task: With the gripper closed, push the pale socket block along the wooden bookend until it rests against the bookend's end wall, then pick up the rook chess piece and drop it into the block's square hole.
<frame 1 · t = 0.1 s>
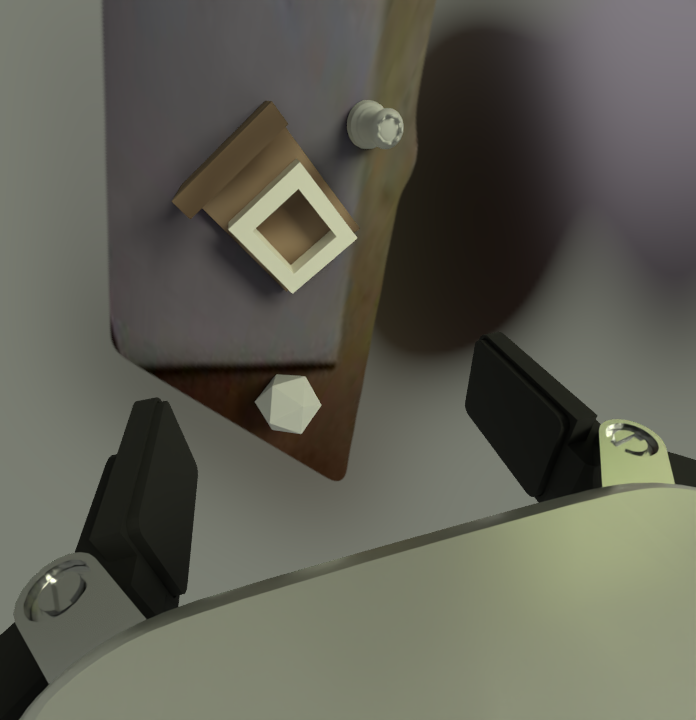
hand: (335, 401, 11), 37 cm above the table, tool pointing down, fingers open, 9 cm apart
rook chess piece: (365, 124, 41), on the table
socket block: (294, 230, 42), point 3 cm above the table, slide at 0.0 cm
die: (285, 386, 58), on the table
wooden bookend: (276, 207, 43), on the table
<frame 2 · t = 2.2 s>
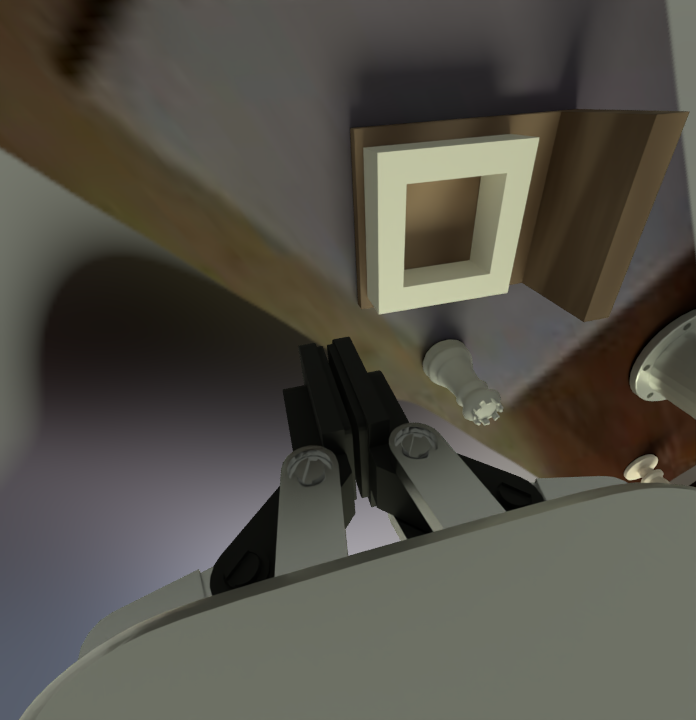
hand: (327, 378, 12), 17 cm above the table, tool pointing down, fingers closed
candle: (638, 465, 57), on the table
rook chess piece: (441, 355, 36), on the table
socket block: (442, 227, 25), point 3 cm above the table, slide at 0.0 cm
wooden bookend: (458, 214, 28), on the table
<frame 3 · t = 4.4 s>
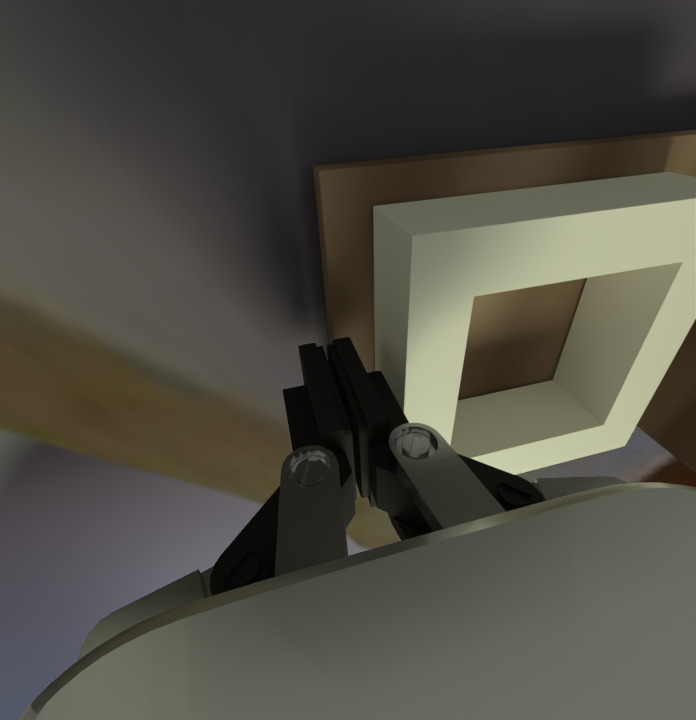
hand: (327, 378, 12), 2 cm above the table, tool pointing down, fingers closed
socket block: (524, 349, 13), point 3 cm above the table, slide at 0.9 cm, touching gripper
wooden bookend: (519, 310, 15), on the table
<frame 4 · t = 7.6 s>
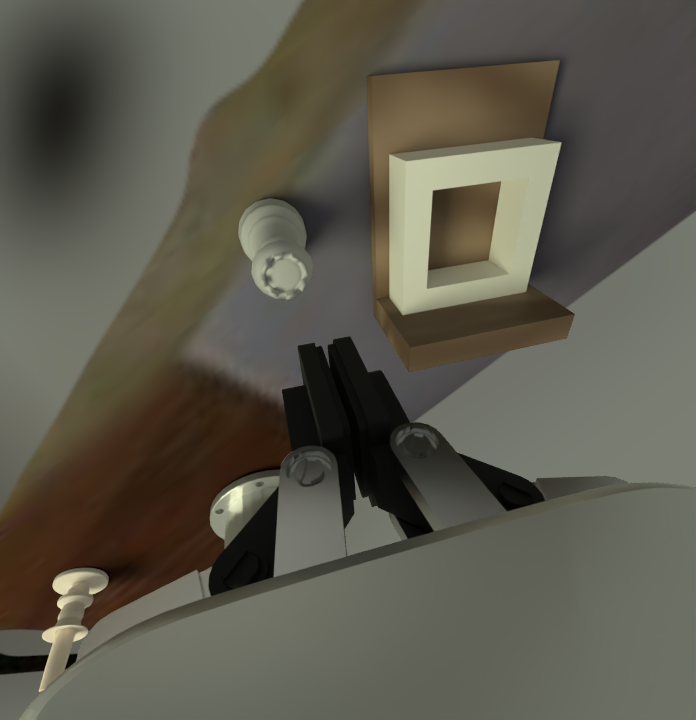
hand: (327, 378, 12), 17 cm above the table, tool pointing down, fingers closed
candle: (82, 577, 42), on the table
rook chess piece: (272, 230, 26), on the table
socket block: (464, 230, 26), point 3 cm above the table, slide at 3.5 cm, touching wooden bookend
wooden bookend: (449, 206, 27), on the table
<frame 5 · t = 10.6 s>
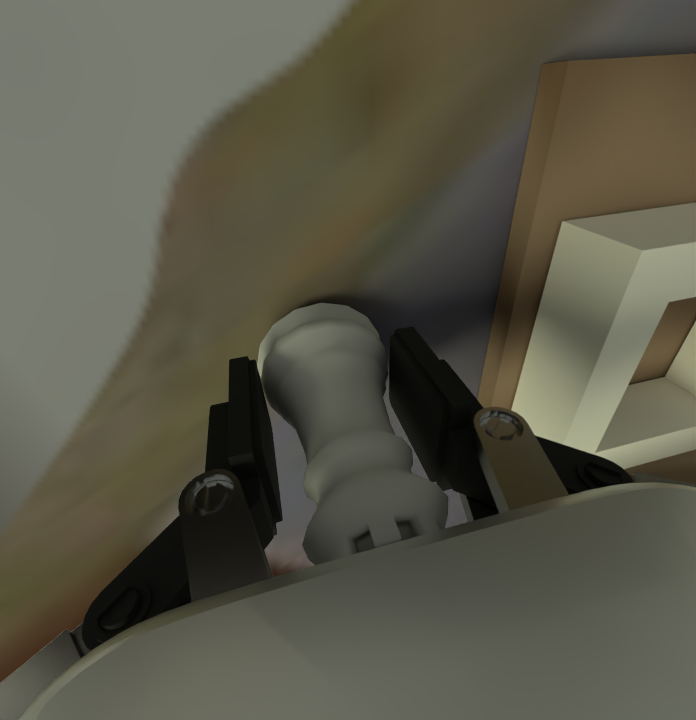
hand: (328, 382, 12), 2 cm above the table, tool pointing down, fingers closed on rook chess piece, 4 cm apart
rook chess piece: (318, 349, 14), on the table, touching gripper
socket block: (666, 348, 14), point 3 cm above the table, slide at 3.5 cm, touching wooden bookend
wooden bookend: (621, 297, 16), on the table
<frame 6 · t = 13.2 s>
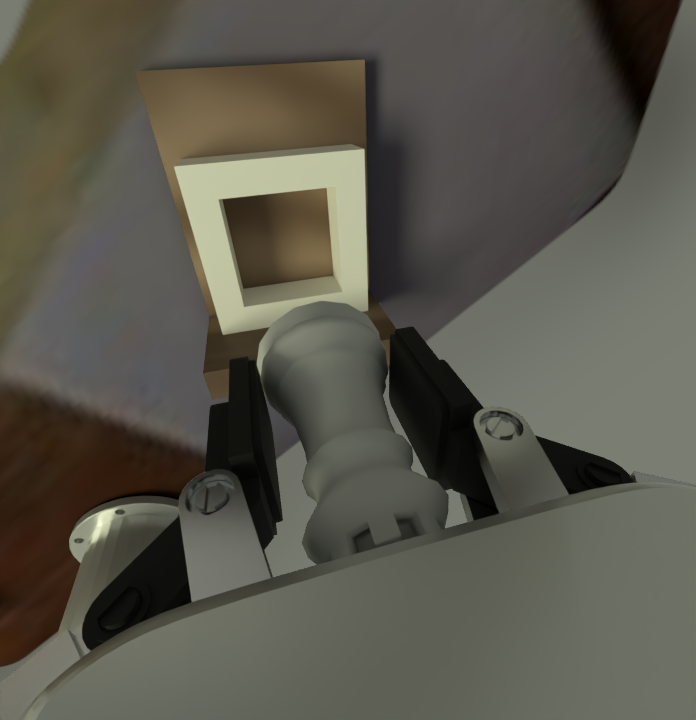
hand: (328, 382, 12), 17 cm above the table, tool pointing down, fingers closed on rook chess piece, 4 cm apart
rook chess piece: (317, 348, 14), point 15 cm above the table, touching gripper
socket block: (284, 243, 24), point 3 cm above the table, slide at 3.5 cm, touching wooden bookend
wooden bookend: (278, 216, 25), on the table
when the fingers open (4 cm above the table, at t = 15.9 s): rook chess piece drops 1 cm, resting on wooden bookend.
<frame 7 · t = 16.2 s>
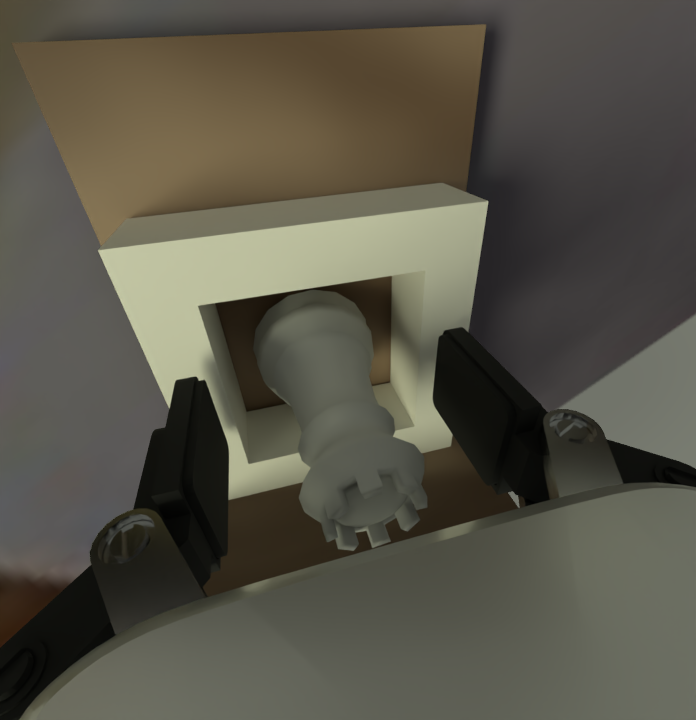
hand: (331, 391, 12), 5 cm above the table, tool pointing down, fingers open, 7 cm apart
rook chess piece: (309, 333, 15), point 1 cm above the table, touching wooden bookend
socket block: (319, 354, 14), point 3 cm above the table, slide at 3.5 cm, touching wooden bookend
wooden bookend: (305, 299, 15), on the table
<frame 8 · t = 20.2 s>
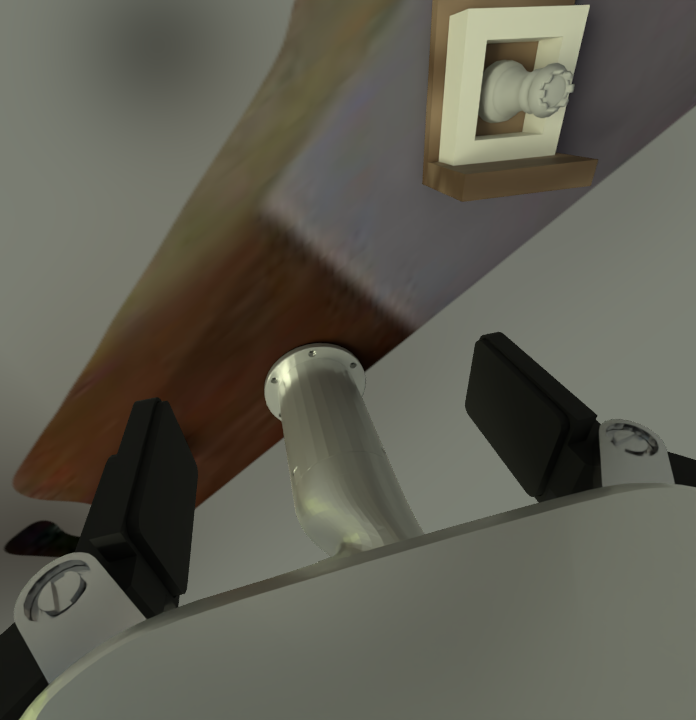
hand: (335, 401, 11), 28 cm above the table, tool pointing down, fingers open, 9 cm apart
rook chess piece: (493, 92, 33), point 1 cm above the table, touching wooden bookend
socket block: (506, 91, 31), point 3 cm above the table, slide at 3.5 cm, touching wooden bookend
wooden bookend: (491, 77, 33), on the table
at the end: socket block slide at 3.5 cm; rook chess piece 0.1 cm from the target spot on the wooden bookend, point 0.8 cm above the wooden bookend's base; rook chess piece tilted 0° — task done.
